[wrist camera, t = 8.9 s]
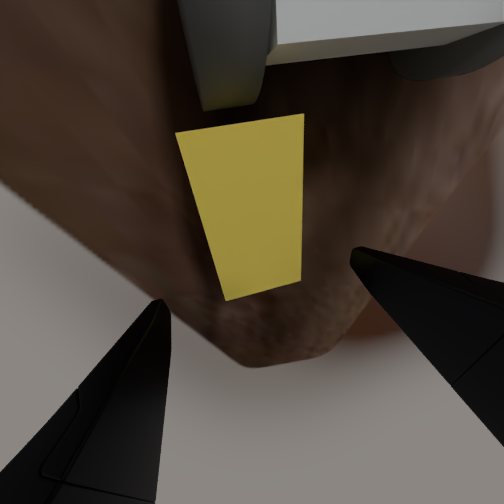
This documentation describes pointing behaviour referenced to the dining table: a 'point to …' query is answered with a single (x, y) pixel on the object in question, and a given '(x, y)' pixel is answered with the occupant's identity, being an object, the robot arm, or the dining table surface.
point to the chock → (249, 199)
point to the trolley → (333, 38)
